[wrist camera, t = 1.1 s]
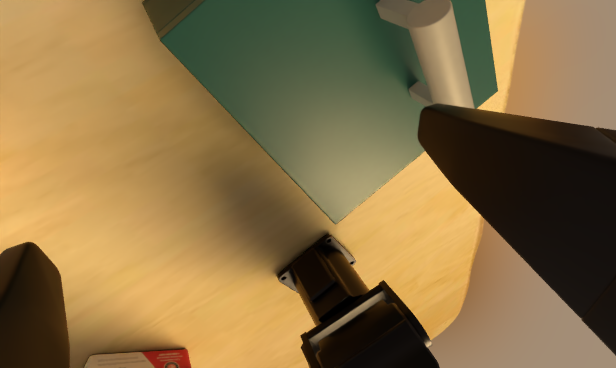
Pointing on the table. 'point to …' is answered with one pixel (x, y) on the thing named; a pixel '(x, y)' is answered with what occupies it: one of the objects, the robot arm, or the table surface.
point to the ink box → (141, 360)
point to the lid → (336, 80)
